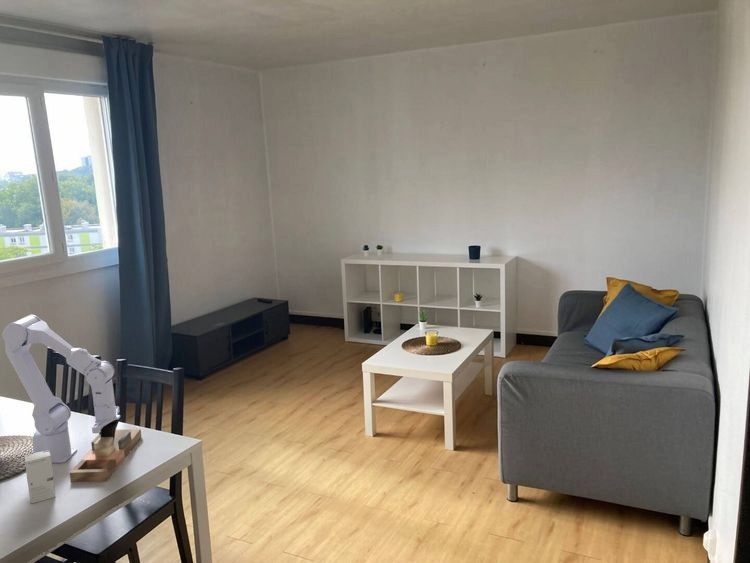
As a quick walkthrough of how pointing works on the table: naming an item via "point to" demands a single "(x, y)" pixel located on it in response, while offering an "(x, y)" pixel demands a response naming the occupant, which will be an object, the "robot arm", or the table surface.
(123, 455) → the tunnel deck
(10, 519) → the table surface
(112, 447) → the maple block
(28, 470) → the skincare box
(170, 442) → the table surface
